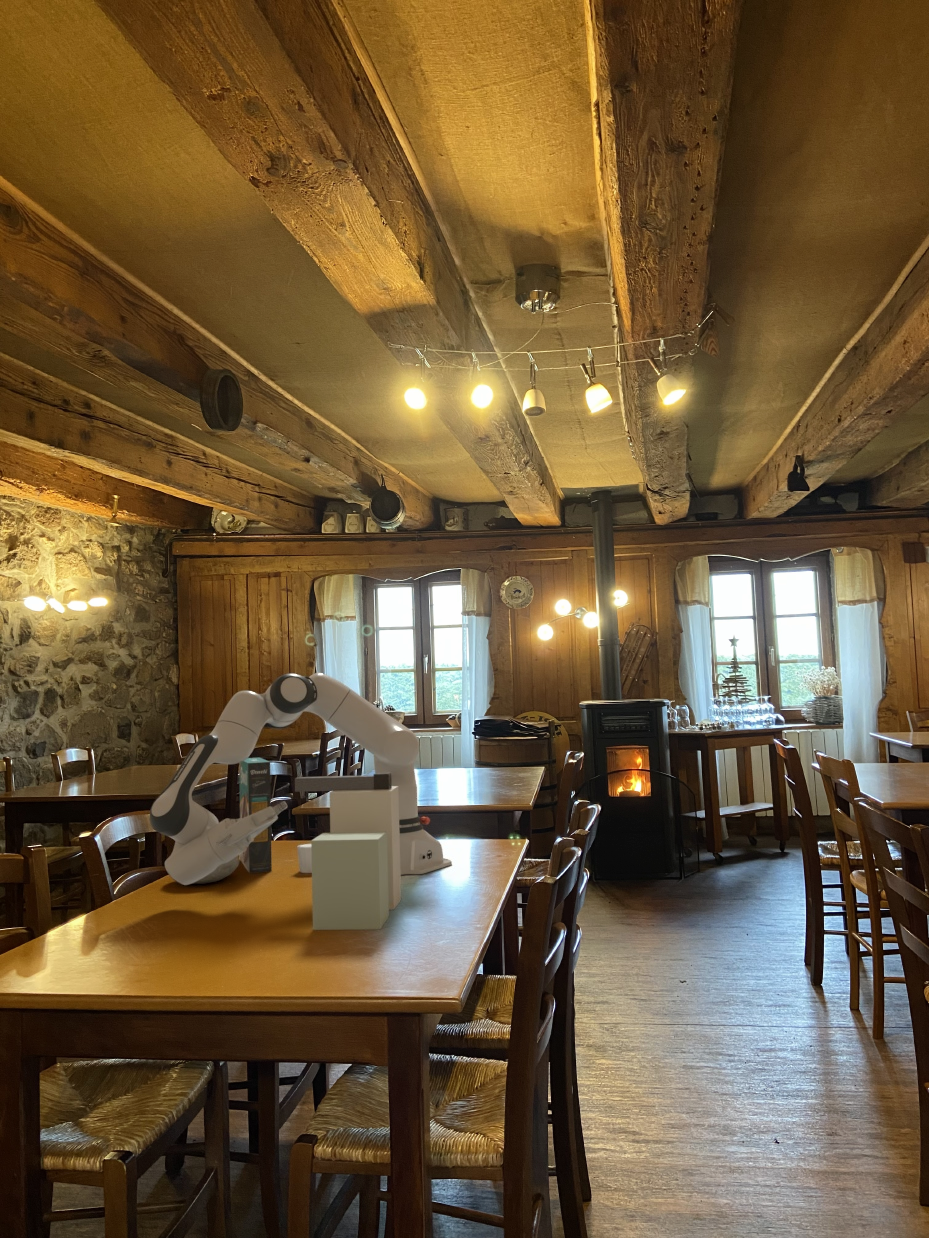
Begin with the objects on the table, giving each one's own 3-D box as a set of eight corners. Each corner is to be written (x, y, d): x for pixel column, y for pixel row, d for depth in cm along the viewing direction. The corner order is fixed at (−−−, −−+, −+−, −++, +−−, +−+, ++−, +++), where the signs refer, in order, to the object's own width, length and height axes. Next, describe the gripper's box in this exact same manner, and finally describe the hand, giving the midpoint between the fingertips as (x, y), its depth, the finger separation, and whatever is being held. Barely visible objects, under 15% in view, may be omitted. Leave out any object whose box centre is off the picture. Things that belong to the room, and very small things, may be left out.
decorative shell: (165, 879, 236) (165, 841, 237) (231, 871, 244) (231, 835, 245) (176, 891, 220) (176, 851, 221) (247, 882, 228) (246, 843, 229)
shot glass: (317, 873, 237) (317, 847, 238) (293, 873, 238) (293, 847, 239) (326, 868, 244) (326, 842, 244) (303, 868, 245) (302, 842, 246)
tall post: (331, 910, 195) (329, 792, 197) (342, 899, 205) (339, 787, 207) (393, 909, 194) (390, 790, 196) (401, 899, 204) (398, 786, 206)
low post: (312, 929, 179) (311, 840, 181) (325, 917, 189) (323, 832, 191) (380, 929, 178) (378, 839, 180) (389, 916, 188) (386, 831, 190)
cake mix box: (240, 860, 261) (239, 758, 263) (261, 858, 263) (259, 757, 266) (249, 873, 240) (248, 763, 243) (271, 871, 243) (270, 761, 245)
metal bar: (294, 791, 201) (294, 776, 202) (298, 789, 205) (298, 774, 205) (389, 789, 200) (388, 773, 200) (391, 787, 203) (391, 772, 203)
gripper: (206, 833, 194) (258, 800, 193) (238, 820, 214) (285, 789, 214) (220, 858, 193) (272, 825, 193) (251, 842, 213) (298, 812, 213)
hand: (279, 806), depth 203 cm, fingers open, 8 cm apart
